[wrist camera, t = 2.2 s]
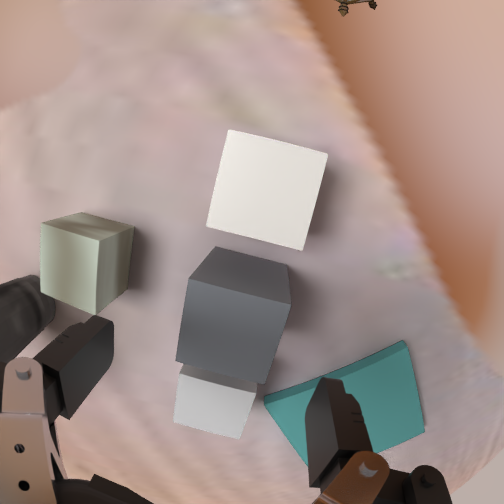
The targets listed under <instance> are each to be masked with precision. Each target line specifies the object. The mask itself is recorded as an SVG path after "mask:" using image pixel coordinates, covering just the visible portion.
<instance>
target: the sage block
mask: <svg viewBox="0 0 504 504" xmlns="http://www.w3.org/2000/svg"><path fill="white" fill-rule="evenodd" d="M134 228H135V226H131V225H127V224H124V223H120V222H116V221H112V220H108V219H104V218H101V217H97V216H93V215H89V214H85V213H82V212H81V213H77V214H73V215H69V216H65V217H61V218H58V219H54V220H50V221H46V222H43V223H41V234H40V286H41V292H42V293H44V294H46V295H48V296H50V297H53V298H55V299H57V300H59V301H62V302H64V303H66V304H69V305H71V306H73V307H76V308H78V309H81V310H83V311H85V312H88V313H90V314H93V315H97V314H98V313H99V312H100V311H101V310H103V309H104V308H105V307H106V306H107V305H109V304H110V303H111V302H112V301H113V300H115V299H116V298H117V297H118V296H119V295H121V294H122V293H123V292H124V291H126V290H127V288H128V277H129V267H130V259H131V250H132V242H133V235H134Z"/></svg>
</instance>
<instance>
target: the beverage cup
mask: <svg viewBox="0 0 504 504" xmlns="http://www.w3.org/2000/svg"><path fill="white" fill-rule="evenodd" d="M54 316H55V303H54V299H53V297H50V296H48V295H46V294H44V293H42V292H41V286H40V278H38V277H37V276H34V275H28V276H26V277H23V278H17V279H14V280H12V281H9V282H6V283H3V284H0V361H1V362H4V363H7V364H8V363H9V362H10V361H11V360H13V359H14V358H15V357H16V356H17V355H18V354H19V353H20V352H21V351H22V350H23V349H24V348H25V347H26V346H27V345H28V344H29V343H30V342H31V341H32V340H33V339H34V338H35V337H36V336H37V335H38V334H40V333H41V332H42V331H43V330H44V328H45V327H46V326H47V325H48V324H49V323H50V322H51V321H52V320H53V318H54Z"/></svg>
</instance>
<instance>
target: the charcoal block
mask: <svg viewBox="0 0 504 504" xmlns="http://www.w3.org/2000/svg"><path fill="white" fill-rule="evenodd" d="M291 305H292V304H291V295H290V286H289V277H288V268H287V265H286V264H282V263H278V262H274V261H270V260H266V259H262V258H258V257H254V256H250V255H247V254H243V253H239V252H235V251H231V250H227V249H223V248H219V247H215V248H214V249H213V250H212V251H211V252H210V254H209V255H208V256H207V257H206V258H205V259H204V261H203V262H202V263H201V264H200V265H199V267H198V268H197V269H196V270H195V271H194V273H193V274H192V275H191V276H190V277H189V280H188V285H187V291H186V297H185V303H184V308H183V315H182V321H181V327H180V333H179V340H178V347H177V354H176V361H177V362H180V363H183V364H187V365H190V366H194V367H197V368H201V369H204V370H208V371H211V372H215V373H219V374H223V375H226V376H230V377H234V378H239V379H243V380H247V381H251V382H256V383H260V384H265V382H266V379H267V376H268V373H269V371H270V368H271V365H272V362H273V359H274V356H275V353H276V350H277V347H278V345H279V342H280V339H281V336H282V333H283V330H284V327H285V324H286V321H287V318H288V314H289V311H290V308H291Z"/></svg>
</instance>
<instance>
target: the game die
mask: <svg viewBox="0 0 504 504" xmlns="http://www.w3.org/2000/svg"><path fill="white" fill-rule="evenodd" d="M336 1H338V2H340V3H341V5H340V6H339V10H338V11H340V13H341V15H342V16H344V15H346V14H347V13H348V7H347V5H348V4H354V3H361V2H369V6H370V8H373V9H374V10H375V8H376V6H377V5H376V2H374V0H336Z"/></svg>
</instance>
